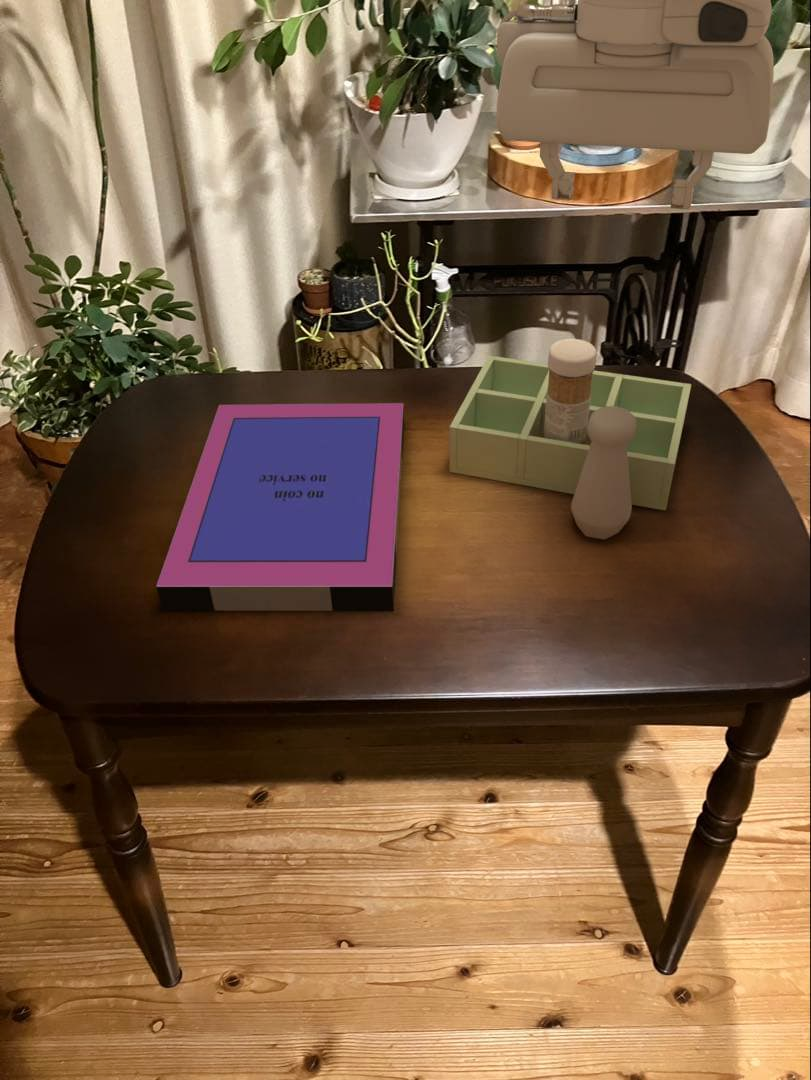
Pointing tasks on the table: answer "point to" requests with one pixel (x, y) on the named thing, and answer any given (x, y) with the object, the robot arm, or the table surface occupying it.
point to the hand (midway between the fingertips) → (620, 202)
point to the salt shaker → (605, 475)
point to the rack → (530, 459)
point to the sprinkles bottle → (569, 390)
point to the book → (291, 511)
